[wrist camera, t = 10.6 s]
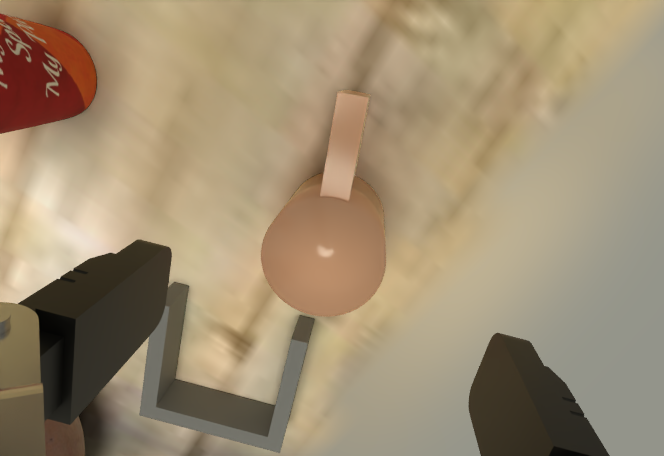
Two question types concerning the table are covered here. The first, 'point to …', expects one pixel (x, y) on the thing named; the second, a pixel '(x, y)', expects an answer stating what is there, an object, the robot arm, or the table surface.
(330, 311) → the peach mallet
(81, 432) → the ceramic pitcher
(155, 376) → the charcoal holder
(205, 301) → the table surface
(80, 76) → the coffee cup
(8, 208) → the table surface
